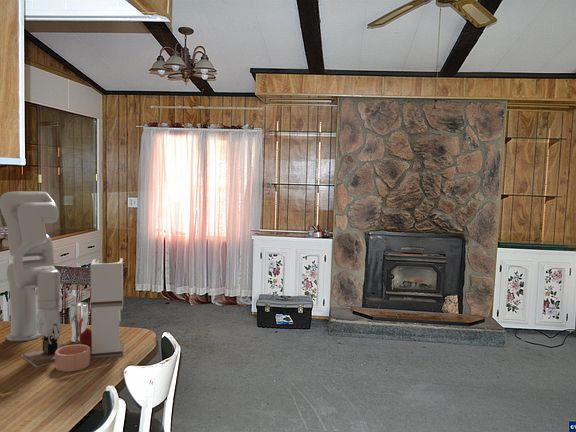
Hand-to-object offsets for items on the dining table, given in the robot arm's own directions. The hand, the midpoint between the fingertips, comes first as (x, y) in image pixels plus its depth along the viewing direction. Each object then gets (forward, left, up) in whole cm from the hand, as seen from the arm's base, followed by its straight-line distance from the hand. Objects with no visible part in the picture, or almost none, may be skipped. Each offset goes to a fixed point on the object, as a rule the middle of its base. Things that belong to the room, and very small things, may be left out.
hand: (50, 351), depth 173 cm
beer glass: (-10, +15, -2) cm, 18 cm away
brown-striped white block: (+11, +17, -2) cm, 20 cm away
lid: (0, 0, -2) cm, 2 cm away
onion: (0, +14, -2) cm, 14 cm away
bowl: (+15, +2, -2) cm, 15 cm away
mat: (0, 0, -2) cm, 2 cm away
